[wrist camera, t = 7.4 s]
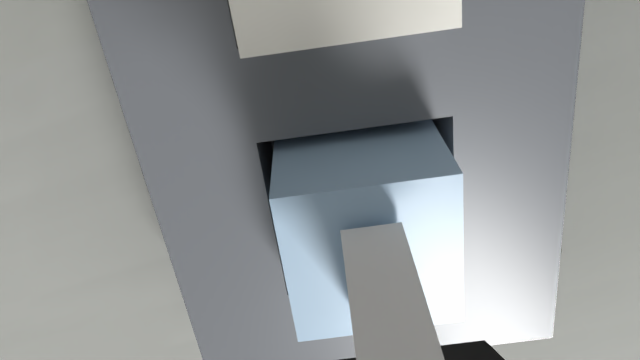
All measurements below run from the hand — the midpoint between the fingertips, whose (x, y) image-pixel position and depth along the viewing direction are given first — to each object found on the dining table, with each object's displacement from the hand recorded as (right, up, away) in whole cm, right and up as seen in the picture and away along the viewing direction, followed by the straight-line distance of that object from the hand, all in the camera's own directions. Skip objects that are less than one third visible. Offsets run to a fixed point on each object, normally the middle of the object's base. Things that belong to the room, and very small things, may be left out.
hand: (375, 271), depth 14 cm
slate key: (0, +2, +4) cm, 5 cm away
